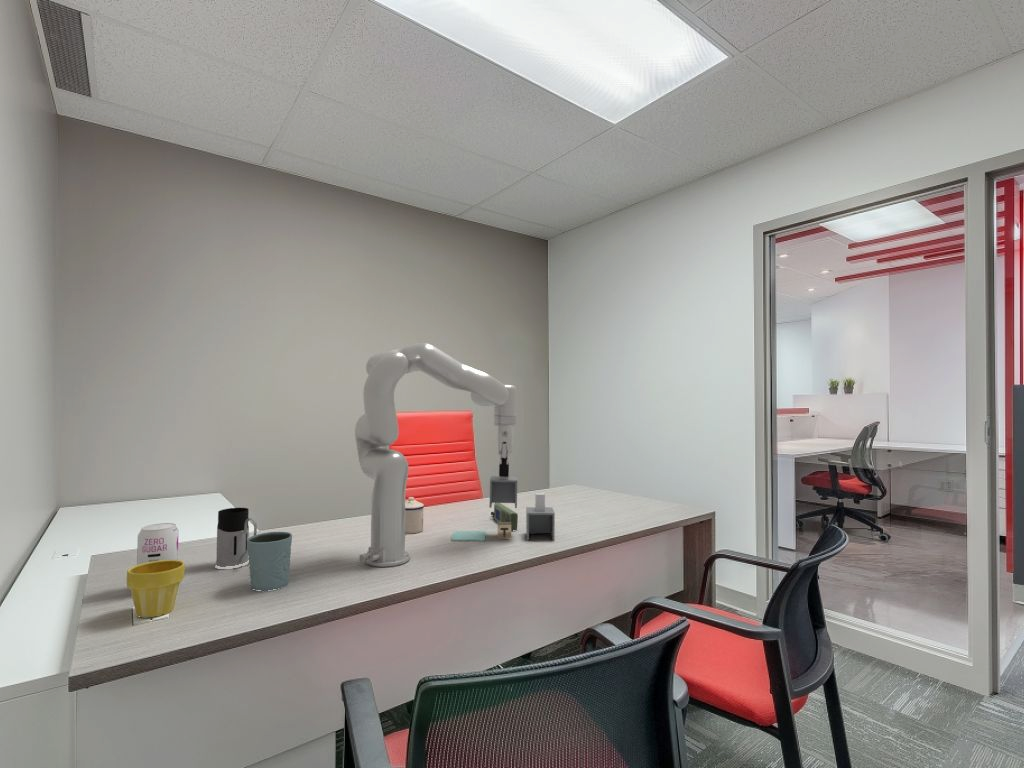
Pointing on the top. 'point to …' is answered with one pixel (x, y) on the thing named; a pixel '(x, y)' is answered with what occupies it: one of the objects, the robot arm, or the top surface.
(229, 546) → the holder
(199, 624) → the top surface
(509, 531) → the letter cube
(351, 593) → the top surface
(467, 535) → the mat
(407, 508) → the teacup with lid
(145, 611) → the plant pot
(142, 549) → the supplement can
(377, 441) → the robot arm
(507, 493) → the cover
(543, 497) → the cover
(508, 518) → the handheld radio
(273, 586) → the teal cup
